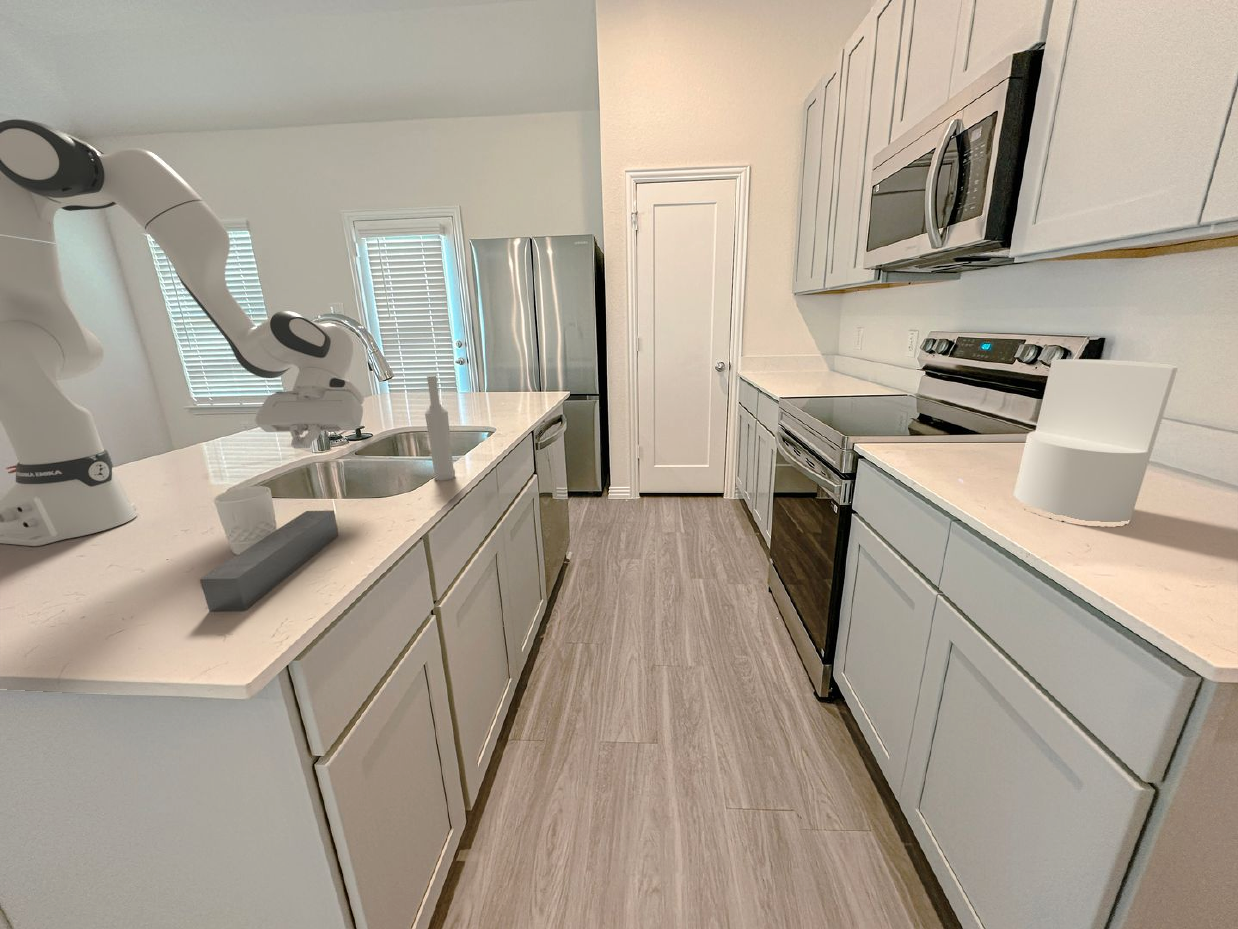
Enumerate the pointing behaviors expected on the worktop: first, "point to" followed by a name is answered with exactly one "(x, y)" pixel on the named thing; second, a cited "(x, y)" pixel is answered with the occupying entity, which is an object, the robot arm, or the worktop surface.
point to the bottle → (439, 435)
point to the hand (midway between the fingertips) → (300, 447)
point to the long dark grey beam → (268, 562)
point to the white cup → (246, 516)
